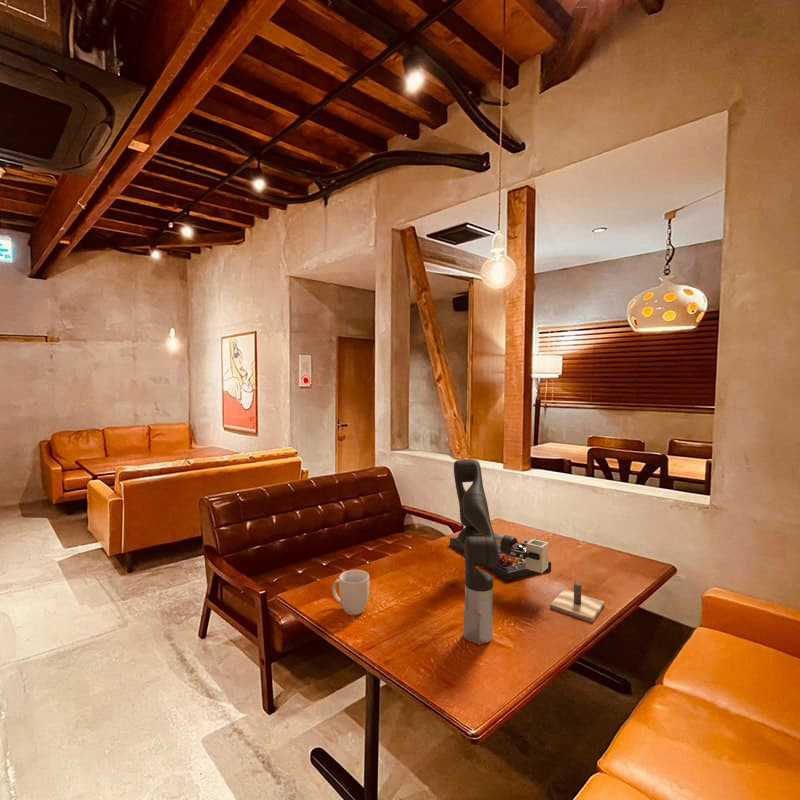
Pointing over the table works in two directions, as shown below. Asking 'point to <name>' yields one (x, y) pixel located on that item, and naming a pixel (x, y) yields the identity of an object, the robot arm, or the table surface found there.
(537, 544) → the cream square bin
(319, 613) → the table surface
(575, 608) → the post base
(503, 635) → the table surface
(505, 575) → the food platter
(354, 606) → the mug
